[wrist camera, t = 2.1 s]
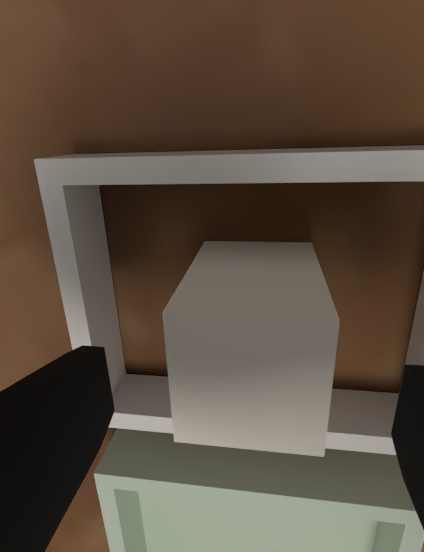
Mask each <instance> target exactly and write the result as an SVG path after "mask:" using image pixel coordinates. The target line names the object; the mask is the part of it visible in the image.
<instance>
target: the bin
mask: <svg viewBox="0 0 424 552" xmlns="http://www.w3.org/2000/svg"><path fill="white" fill-rule="evenodd" d="M34 164H35V168H36V173H37V178H38V183H39V188H40V193H41V198H42V203H43V207H44V212H45V217H46V222H47V227H48V232H49V237H50V242H51V247H52V251H53V256H54V261H55V266H56V271H57V276H58V281H59V286H60V291H61V295H62V300H63V305H64V310H65V315H66V320H67V325H68V330H69V334H70V339H71V344H72V349H73V350H74V349H76V348H78V347H80V346H82V345H83V346H100V347H104V348H105V354H106V360H107V366H108V372H109V378H110V384H111V390H112V396H113V402H114V408H115V411H114V414H113V417H112V419H111V422H110V425H109V427H110V428H120V429H130V430H141V431H151V432H162V433H172V434H173V424H172V413H171V402H170V391H169V380H168V377H165V376H151V375H137V374H126V369H125V362H124V355H123V348H122V341H121V334H120V327H119V320H118V314H117V307H116V300H115V293H114V286H113V279H112V272H111V265H110V258H109V251H108V244H107V237H106V230H105V223H104V216H103V210H102V203H101V196H100V189H99V185H138V184H226V183H314V182H403V181H424V145H414V146H375V147H335V148H296V149H257V150H217V151H178V152H138V153H99V154H71V155H63V156H55V157H47V158H39V159H34ZM405 364H406V365H423V366H424V270H423V275H422V280H421V285H420V290H419V295H418V300H417V305H416V310H415V315H414V320H413V325H412V330H411V335H410V340H409V345H408V350H407V355H406V360H405ZM404 367H405V365H404ZM403 372H404V370H403ZM402 377H403V375H402ZM401 382H402V380H401ZM400 387H401V385H400ZM399 392H400V390H399ZM398 396H399V393H387V392H373V391H359V390H345V389H332V394H331V402H330V411H329V420H328V429H327V437H326V446H325V448H328V449H338V450H348V451H359V452H369V453H380V454H390V455H396V452H395V448H394V444H393V440H392V436H391V431H392V426H393V421H394V416H395V411H396V406H397V401H398Z"/></svg>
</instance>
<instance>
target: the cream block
mask: <svg viewBox="0 0 424 552" xmlns="http://www.w3.org/2000/svg"><path fill="white" fill-rule="evenodd" d="M162 315H163V326H164V337H165V348H166V359H167V370H168V380H169V391H170V402H171V413H172V424H173V435H174V442H180V443H190V444H200V445H210V446H220V447H230V448H240V449H250V450H260V451H270V452H280V453H290V454H300V455H310V456H320V457H324V455H325V446H326V437H327V429H328V420H329V411H330V402H331V394H332V385H333V376H334V367H335V359H336V350H337V341H338V332H339V324H340V320H339V317H338V314H337V311H336V309H335V306H334V303H333V300H332V298H331V295H330V292H329V289H328V287H327V284H326V281H325V278H324V275H323V273H322V270H321V267H320V264H319V262H318V259H317V256H316V253H315V251H314V248H313V245H312V242H244V241H205V242H204V244H203V245H202V247H201V249H200V250H199V252H198V254H197V255H196V257H195V259H194V260H193V262H192V264H191V265H190V267H189V269H188V270H187V272H186V274H185V276H184V277H183V279H182V281H181V282H180V284H179V286H178V287H177V289H176V291H175V292H174V294H173V296H172V297H171V299H170V301H169V302H168V304H167V306H166V307H165V309H164V311H163V312H162Z"/></svg>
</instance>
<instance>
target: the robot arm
mask: <svg viewBox="0 0 424 552" xmlns="http://www.w3.org/2000/svg"><path fill="white" fill-rule="evenodd" d="M114 411H115V408H114V402H113V396H112V390H111V384H110V378H109V372H108V366H107V360H106V354H105V348H104V347H100V346H83V345H82V346H80V347H78V348H76V349H74V350H72V351H70V352H68V353H66V354H64V355H63V356H61V357H59V358H57V359H56V360H54V361H52V362H50V363H49V364H47V365H45V366H44V367H42V368H40V369H38V370H37V371H35V372H33V373H32V374H30V375H28V376H26V377H25V378H23V379H21V380H20V381H18V382H16V383H14V384H13V385H11V386H9V387H8V388H6V389H4V390H2V391H1V392H0V552H45V550H46V548H47V546H48V544H49V542H50V541H51V539H52V537H53V535H54V533H55V531H56V529H57V528H58V526H59V524H60V522H61V520H62V518H63V517H64V515H65V513H66V511H67V509H68V507H69V505H70V504H71V502H72V500H73V498H74V496H75V494H76V493H77V491H78V489H79V487H80V485H81V483H82V482H83V480H84V478H85V476H86V474H87V472H88V470H89V468H90V467H91V465H92V463H93V461H94V459H95V457H96V455H97V453H98V451H99V449H100V447H101V445H102V442H103V440H104V437H105V435H106V433H107V430H108V427H109V425H110V422H111V419H112V417H113V414H114ZM391 436H392V440H393V444H394V448H395V452H396V455H397V459H398V463H399V466H400V470H401V473H402V477H403V480H404V482H405V485H406V488H407V490H408V493H409V495H410V498H411V500H412V503H413V505H414V508H415V510H416V513H417V515H418V518H419V520H420V523H421V525H422V528H423V530H424V366H423V365H406V364H405V367H404V372H403V377H402V382H401V387H400V392H399V396H398V401H397V406H396V411H395V416H394V421H393V426H392V431H391Z"/></svg>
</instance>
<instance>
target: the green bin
mask: <svg viewBox="0 0 424 552" xmlns="http://www.w3.org/2000/svg"><path fill="white" fill-rule="evenodd" d="M94 477H95V482H96V487H97V492H98V496H99V501H100V506H101V511H102V515H103V520H104V525H105V529H106V534H107V539H108V544H109V548H110V552H421V549H422V546H423V542H424V530H423V528H422V525H421V523H420V520H419V518H418V515H417V513H416V510H415V508H414V505H413V503H412V500H411V498H410V495H409V493H408V490H407V488H406V485H405V482H404V480H403V477H402V473H401V470H400V466H399V463H398V459H397V455H390V454H380V453H369V452H359V451H348V450H338V449H328V448H325V455H324V457H320V456H310V455H300V454H290V453H280V452H270V451H260V450H250V449H240V448H230V447H220V446H210V445H200V444H190V443H180V442H174V435H173V434H172V433H162V432H151V431H141V430H130V429H120V428H117V429H116V431H115V433H114V435H113V437H112V439H111V441H110V443H109V445H108V447H107V449H106V450H105V452H104V454H103V456H102V458H101V460H100V462H99V464H98V466H97V468H96V470H95V472H94Z"/></svg>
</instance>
